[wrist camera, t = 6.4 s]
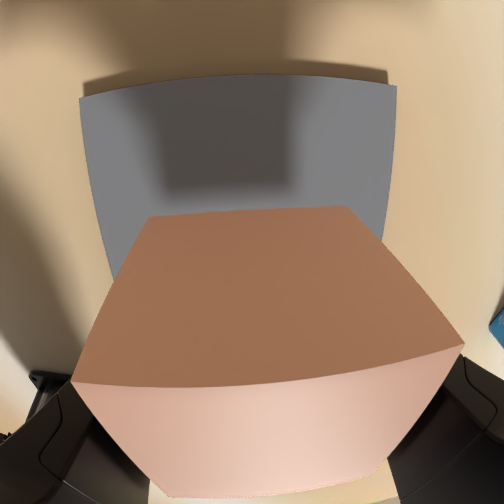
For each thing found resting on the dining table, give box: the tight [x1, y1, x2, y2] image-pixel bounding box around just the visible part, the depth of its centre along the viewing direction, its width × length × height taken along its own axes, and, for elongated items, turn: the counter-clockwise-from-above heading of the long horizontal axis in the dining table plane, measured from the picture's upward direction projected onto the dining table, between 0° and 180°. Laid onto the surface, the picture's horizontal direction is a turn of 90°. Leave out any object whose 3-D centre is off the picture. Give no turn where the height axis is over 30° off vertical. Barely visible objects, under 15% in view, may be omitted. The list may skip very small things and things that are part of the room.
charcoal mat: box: [79, 74, 397, 280], centre depth 12 cm, size 12×12×1 cm
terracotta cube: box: [70, 206, 465, 498], centre depth 6 cm, size 5×5×5 cm
